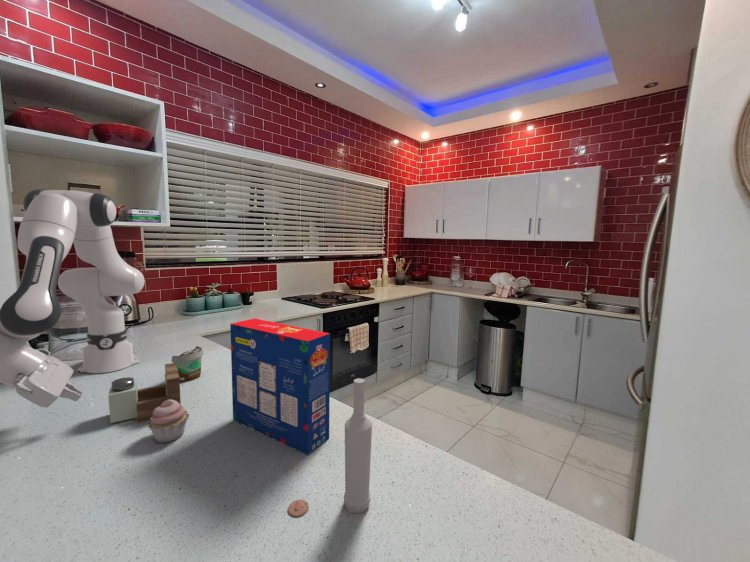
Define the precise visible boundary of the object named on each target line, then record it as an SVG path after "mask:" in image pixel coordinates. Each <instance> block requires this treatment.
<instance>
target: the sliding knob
mask: <svg viewBox="0 0 750 562" xmlns="http://www.w3.org/2000/svg"><path fill="white" fill-rule="evenodd" d="M137 382H138V381H137V380H135V378H133V377H129V376H128V377H122V378H117V379H115V380H113V381H112V382H111V383H110V384H111V385H110V387H109V390H108V391H109V392H108V395H107V396H108V407H109V408H108V409H109V420H110V424H113V423H114V424H115V423H117V422H118V423H119V422H123V421H127V420H131V419H132V420H133V419H134V418H136V417H137V402H138V393H137V390H138V383H137Z"/></svg>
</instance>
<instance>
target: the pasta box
mask: <svg viewBox="0 0 750 562" xmlns="http://www.w3.org/2000/svg"><path fill="white" fill-rule="evenodd" d="M330 349H331V333H330V332H329V333H328V332H323V331H320V330H319V331H318V330H314V329H309V328H305V327H299V326H294V325H290V324H285V323H279V322H274V321H269V320H264V319H260V318H254V317H253V318H251V319H246V320H241V321H237V322H232V323H230V352H231V353H230V358H231V361H230V362H231V389H232V391H231V395H232V421H233V420H234V421H233V422H235V421H237V422H239V423H241V424H243V425H245V426H244V427H246V426H247V427H246V428H248V427H249V428H248V429H250V428H252V429H254V430H255V431H254V430H253V431H254V432H256V431H258V432H257V433H259V432H260V433H259V434H261V433H262V434H261V435H263V434H264V435H263V436H265V435H267V436H268V437H267V436H266V437H267V438H269V437H270V439H272V438H273V439H272V440H274V439H275V440H274V441H276V442H278V441H279V442H278V443H280V442H281V444H283V445H285V446H286V447H289V448H291V449H293V448H294V449H293V450H295V451H298V452H300V453H302V454H305V455H306V454H307V456H309V455H310V454H311V453H313V452H314V451H315V450H317V449H318V448H319V447H321V446H322V445H323V444H324V443H326V442H327V441H328V440H329V439H330V402H331V401H330V392H331V391H330V386H331V385H330V384H331V383H330V382H331V381H330V380H331V378H330V377H331V376H330V375H331V372H330V371H331V352H330V351H331V350H330ZM237 422H236V423H237ZM239 423H238V424H239ZM241 424H240V425H241ZM243 425H242V426H243ZM252 429H251V430H252Z"/></svg>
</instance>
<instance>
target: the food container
mask: <svg viewBox="0 0 750 562" xmlns="http://www.w3.org/2000/svg"><path fill="white" fill-rule="evenodd" d="M204 355H205V353H204V350H203V348H202V347H201V346H197V345H195V348H194V349H191V350H188V351H187V350H186V351H184V352H183V353H181V354H180V355H172V357H171V363H176V365H177V369H178V374H179V380H180V383H186V382H187V381H188V382H191V381H195V380H197V379H199V378H200V377H201V376H200V375H202V357H203V356H204Z"/></svg>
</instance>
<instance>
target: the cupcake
mask: <svg viewBox="0 0 750 562" xmlns="http://www.w3.org/2000/svg"><path fill="white" fill-rule="evenodd" d="M189 417H190V413H188V410H186V409H185V407H184V406H183V404H179V403H178V402H177V401H175V400H169V399H168V400H166V401H165V402H163V403H162V404H161V406H159V407H157V408H156V409H154V411H153V416H152V417H151V418H150V419H149V421H147V423H146V424H147V425H148V426H147V427H148V429H149V430H150V432H152V436H153V439H154V440H155V441H156V442H157V443H160V444H162V443H163V444H165V443H170V442H174V441H176V440H178V439H179V438H181V437H182V436H183V435H184V433H185V429H186V424H187V421H188V419H189Z"/></svg>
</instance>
